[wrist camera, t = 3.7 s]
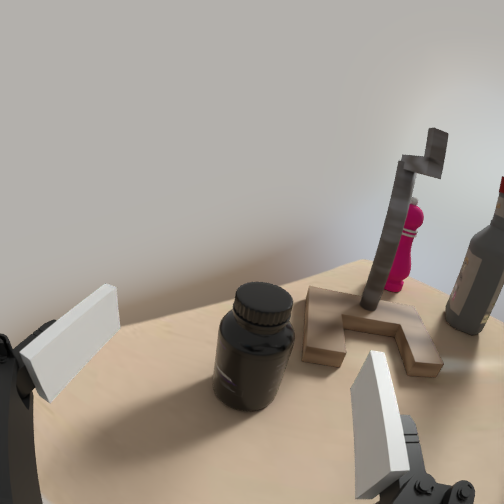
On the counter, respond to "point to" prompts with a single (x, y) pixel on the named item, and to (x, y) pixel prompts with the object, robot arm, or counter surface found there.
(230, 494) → the counter surface
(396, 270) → the pepper mill
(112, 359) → the counter surface
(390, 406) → the robot arm
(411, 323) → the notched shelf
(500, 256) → the liquor
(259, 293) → the supplement bottle
